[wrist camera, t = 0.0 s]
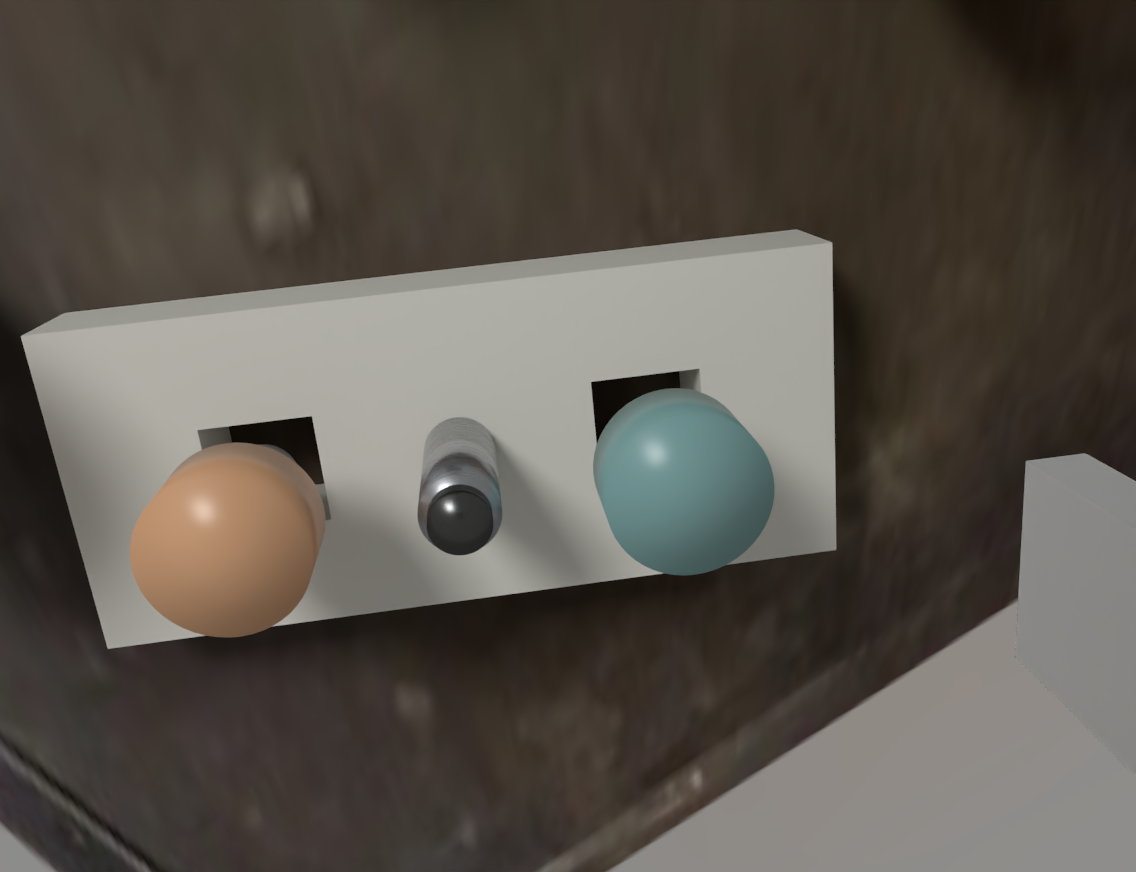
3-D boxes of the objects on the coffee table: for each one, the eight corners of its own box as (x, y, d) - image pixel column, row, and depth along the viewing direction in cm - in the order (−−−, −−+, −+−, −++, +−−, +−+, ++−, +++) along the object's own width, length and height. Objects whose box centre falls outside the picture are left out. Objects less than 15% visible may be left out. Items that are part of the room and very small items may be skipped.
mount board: (64, 313, 38) (20, 336, 34) (796, 229, 39) (832, 242, 36) (139, 599, 41) (107, 648, 38) (803, 510, 43) (836, 549, 39)
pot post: (419, 421, 36) (410, 490, 30) (491, 412, 36) (497, 479, 30) (429, 489, 37) (422, 569, 31) (499, 479, 37) (507, 558, 31)
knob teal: (572, 367, 36) (598, 427, 29) (715, 350, 36) (771, 405, 30) (586, 501, 38) (612, 586, 31) (722, 483, 38) (777, 563, 31)
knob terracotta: (176, 416, 35) (110, 488, 29) (325, 398, 36) (295, 464, 29) (207, 551, 37) (152, 648, 30) (350, 532, 37) (326, 624, 31)
